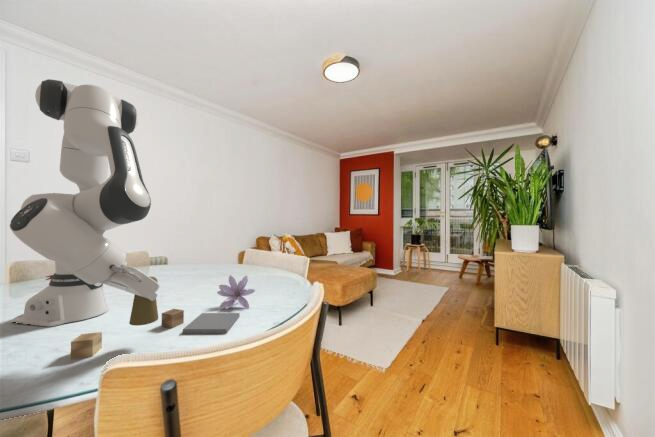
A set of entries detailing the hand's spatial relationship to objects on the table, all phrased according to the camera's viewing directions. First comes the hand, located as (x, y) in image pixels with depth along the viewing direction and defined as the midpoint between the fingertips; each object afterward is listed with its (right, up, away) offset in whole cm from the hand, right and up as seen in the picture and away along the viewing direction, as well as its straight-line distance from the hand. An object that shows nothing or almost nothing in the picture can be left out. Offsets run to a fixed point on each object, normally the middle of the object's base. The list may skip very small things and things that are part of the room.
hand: (147, 295), depth 66 cm
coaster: (+12, -12, +12) cm, 21 cm away
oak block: (-11, -12, -5) cm, 17 cm away
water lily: (+12, -12, +28) cm, 33 cm away
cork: (-1, -6, 0) cm, 6 cm away
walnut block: (0, -12, +11) cm, 17 cm away
